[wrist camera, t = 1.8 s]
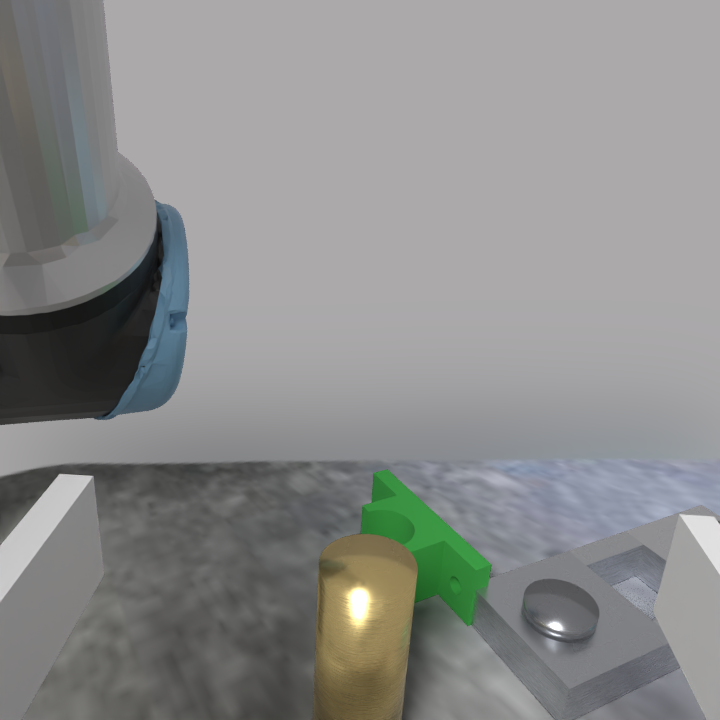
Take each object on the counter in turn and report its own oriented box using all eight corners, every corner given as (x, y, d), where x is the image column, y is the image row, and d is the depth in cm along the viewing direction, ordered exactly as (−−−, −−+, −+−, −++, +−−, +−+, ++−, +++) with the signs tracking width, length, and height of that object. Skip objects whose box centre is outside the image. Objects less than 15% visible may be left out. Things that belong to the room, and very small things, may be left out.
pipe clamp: (337, 538, 48) (339, 481, 46) (383, 523, 50) (387, 468, 48) (431, 648, 39) (438, 582, 37) (482, 626, 41) (492, 562, 39)
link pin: (297, 737, 33) (303, 548, 29) (371, 706, 35) (386, 525, 30) (334, 811, 30) (346, 611, 25) (413, 774, 31) (436, 581, 27)
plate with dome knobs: (466, 618, 41) (472, 573, 39) (692, 534, 50) (704, 495, 48) (560, 726, 34) (572, 676, 33) (802, 606, 43) (818, 564, 42)
